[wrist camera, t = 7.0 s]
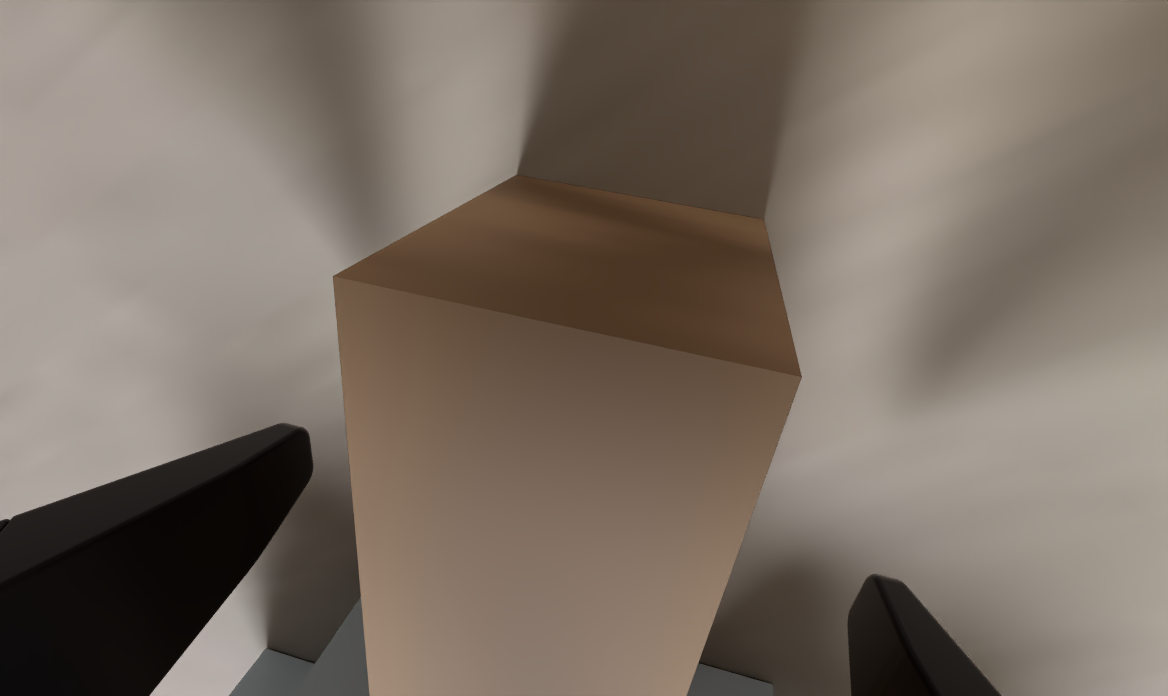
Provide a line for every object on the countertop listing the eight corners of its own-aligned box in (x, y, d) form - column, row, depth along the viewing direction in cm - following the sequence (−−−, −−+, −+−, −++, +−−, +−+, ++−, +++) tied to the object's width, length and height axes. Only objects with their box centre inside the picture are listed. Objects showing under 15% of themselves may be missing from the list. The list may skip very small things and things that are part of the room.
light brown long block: (481, 683, 16) (388, 918, 12) (516, 175, 9) (332, 276, 5) (621, 727, 15) (579, 989, 11) (763, 219, 9) (802, 376, 4)
